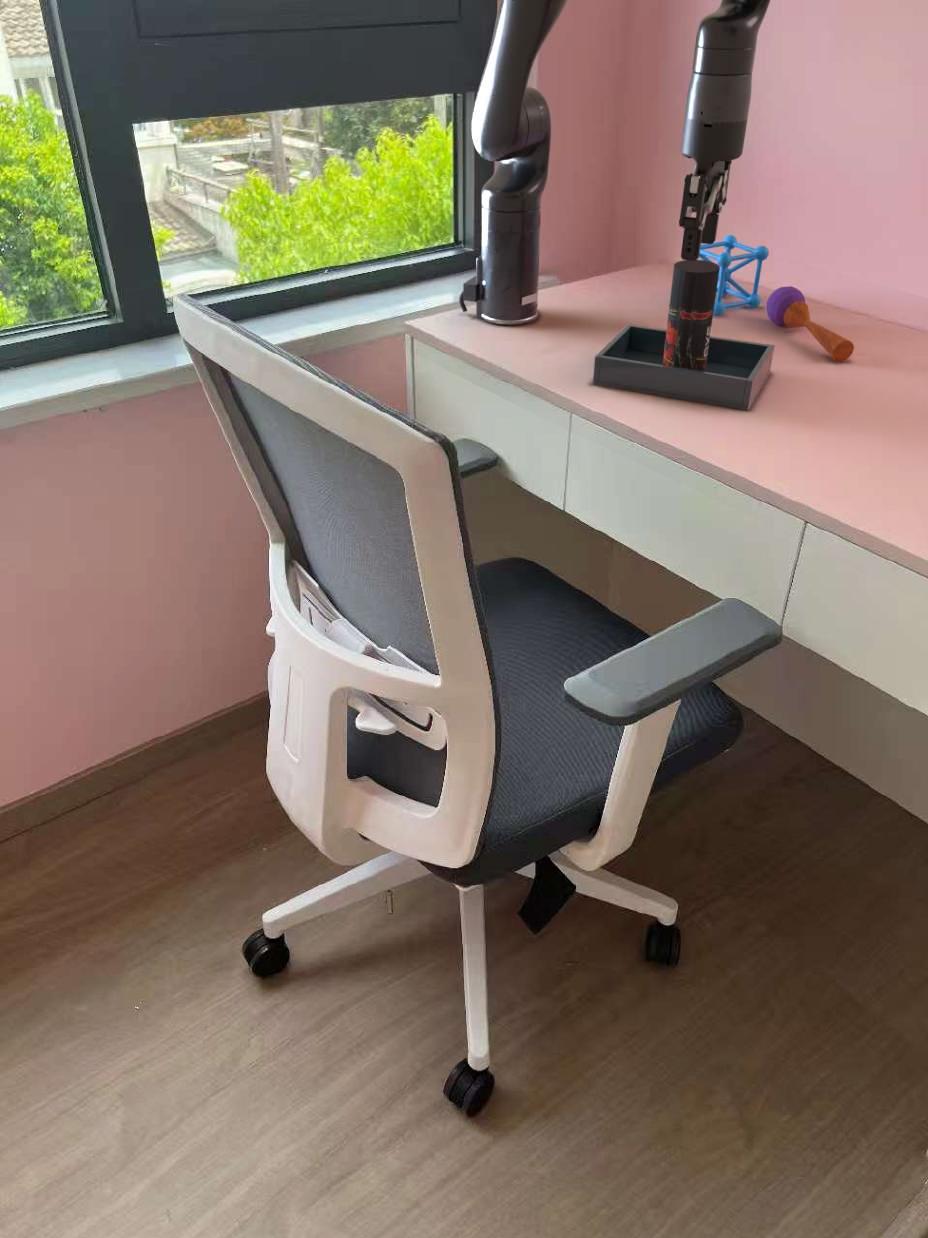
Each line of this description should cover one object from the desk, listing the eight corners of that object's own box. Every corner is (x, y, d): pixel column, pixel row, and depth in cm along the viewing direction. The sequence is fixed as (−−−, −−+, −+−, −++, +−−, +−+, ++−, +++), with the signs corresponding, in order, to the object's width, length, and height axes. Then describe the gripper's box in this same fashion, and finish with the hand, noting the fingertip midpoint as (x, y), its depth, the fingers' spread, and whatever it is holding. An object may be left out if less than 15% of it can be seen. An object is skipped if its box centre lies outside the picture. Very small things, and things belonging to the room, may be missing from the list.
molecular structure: (677, 301, 167) (684, 240, 161) (723, 292, 171) (731, 232, 165) (715, 318, 160) (724, 255, 154) (762, 308, 164) (773, 246, 158)
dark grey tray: (592, 384, 138) (594, 356, 135) (625, 350, 148) (627, 323, 146) (747, 410, 130) (752, 381, 128) (769, 372, 141) (774, 345, 138)
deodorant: (704, 383, 136) (720, 273, 127) (660, 380, 137) (673, 271, 128) (704, 368, 141) (719, 260, 132) (662, 365, 142) (674, 258, 133)
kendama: (825, 337, 141) (759, 286, 156) (822, 375, 145) (758, 321, 160) (864, 326, 141) (794, 276, 156) (860, 364, 145) (792, 311, 160)
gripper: (700, 103, 126) (684, 234, 136) (670, 120, 116) (654, 261, 125) (759, 107, 123) (738, 241, 133) (733, 125, 113) (713, 269, 122)
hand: (698, 250), depth 129 cm, fingers open, 8 cm apart
